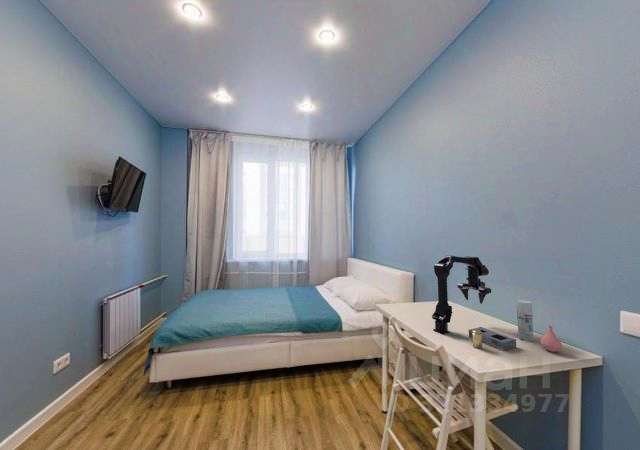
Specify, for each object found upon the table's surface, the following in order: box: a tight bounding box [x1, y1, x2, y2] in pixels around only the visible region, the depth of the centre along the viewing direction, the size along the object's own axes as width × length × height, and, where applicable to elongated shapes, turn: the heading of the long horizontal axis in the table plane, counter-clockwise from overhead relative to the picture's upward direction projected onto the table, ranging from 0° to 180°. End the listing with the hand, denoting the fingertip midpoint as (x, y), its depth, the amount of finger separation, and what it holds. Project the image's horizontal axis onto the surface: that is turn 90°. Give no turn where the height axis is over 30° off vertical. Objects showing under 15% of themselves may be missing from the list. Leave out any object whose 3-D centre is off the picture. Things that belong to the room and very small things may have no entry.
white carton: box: [516, 299, 534, 343], centre depth 133 cm, size 6×6×20 cm
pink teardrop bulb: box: [540, 324, 563, 353], centre depth 119 cm, size 8×8×12 cm
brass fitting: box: [471, 330, 483, 350], centre depth 125 cm, size 4×4×8 cm
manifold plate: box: [468, 326, 517, 352], centre depth 130 cm, size 10×18×4 cm, turn 22°
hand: (474, 301), depth 155 cm, fingers open, 9 cm apart
